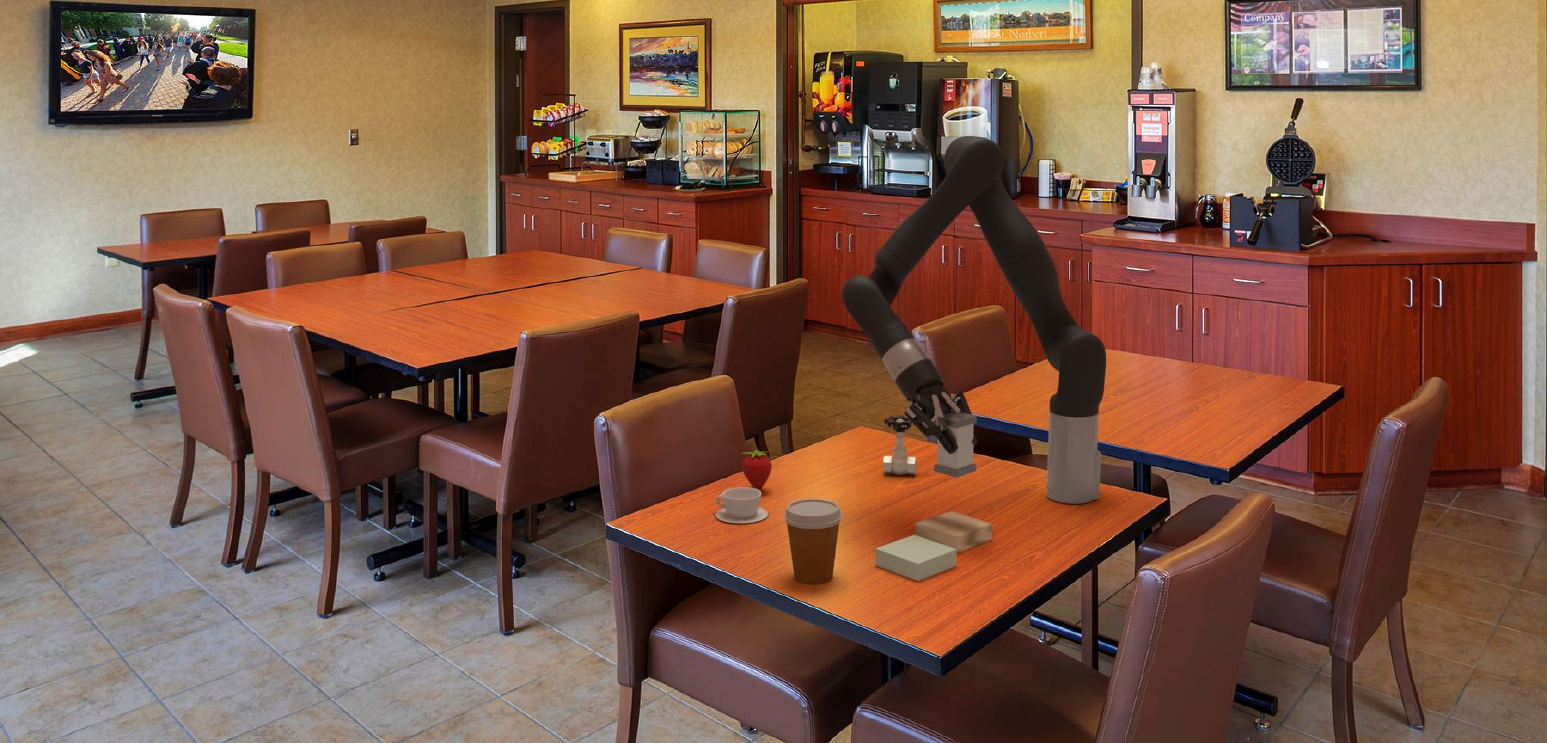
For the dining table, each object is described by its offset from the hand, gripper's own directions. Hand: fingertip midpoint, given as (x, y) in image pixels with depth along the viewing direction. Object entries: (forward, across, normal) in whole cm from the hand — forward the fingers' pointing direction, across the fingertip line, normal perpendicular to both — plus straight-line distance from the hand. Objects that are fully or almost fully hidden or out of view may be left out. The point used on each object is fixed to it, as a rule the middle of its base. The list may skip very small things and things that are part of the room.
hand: (963, 448), depth 207 cm
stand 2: (+11, 0, +14) cm, 17 cm away
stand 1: (+13, -14, +11) cm, 22 cm away
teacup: (-14, -20, +39) cm, 46 cm away
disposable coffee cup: (+8, -30, +16) cm, 35 cm away
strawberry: (-21, -8, +45) cm, 50 cm away
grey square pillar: (+2, 0, +5) cm, 5 cm away
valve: (-12, +21, +37) cm, 44 cm away
